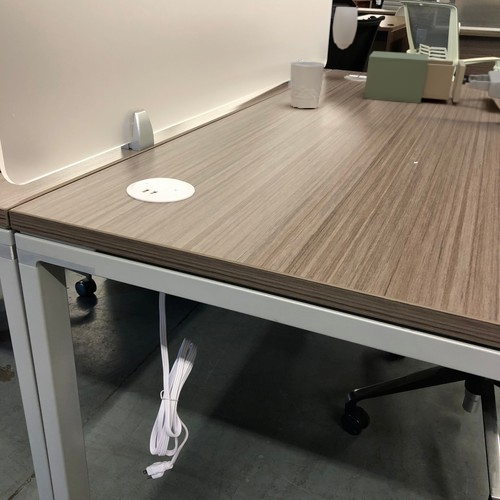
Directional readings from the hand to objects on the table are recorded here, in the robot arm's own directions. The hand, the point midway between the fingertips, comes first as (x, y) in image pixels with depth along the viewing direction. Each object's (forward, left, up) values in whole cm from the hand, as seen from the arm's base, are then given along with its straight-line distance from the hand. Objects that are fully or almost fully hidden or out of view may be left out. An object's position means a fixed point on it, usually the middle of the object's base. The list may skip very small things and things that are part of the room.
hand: (468, 81), depth 131 cm
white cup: (+38, +23, -6) cm, 45 cm away
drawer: (+8, 0, -5) cm, 9 cm away
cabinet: (+18, 0, -5) cm, 19 cm away
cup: (+36, -22, -6) cm, 43 cm away
